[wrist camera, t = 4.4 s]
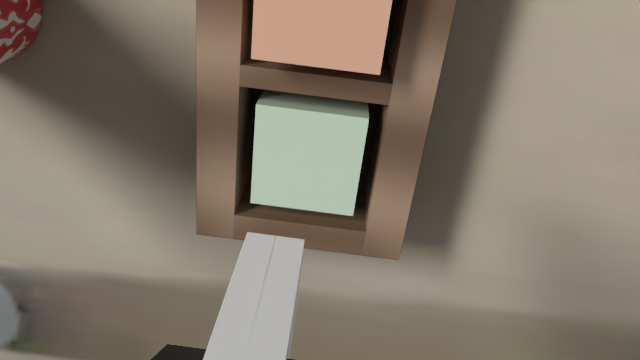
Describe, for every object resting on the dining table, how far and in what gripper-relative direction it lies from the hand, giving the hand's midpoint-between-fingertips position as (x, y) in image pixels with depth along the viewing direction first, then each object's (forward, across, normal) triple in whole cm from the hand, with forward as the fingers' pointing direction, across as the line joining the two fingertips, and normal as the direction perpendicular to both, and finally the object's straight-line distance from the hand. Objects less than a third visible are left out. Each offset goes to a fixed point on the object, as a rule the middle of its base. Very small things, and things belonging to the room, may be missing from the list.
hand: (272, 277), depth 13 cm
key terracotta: (+14, 0, +6) cm, 15 cm away
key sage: (+15, 0, -2) cm, 16 cm away
